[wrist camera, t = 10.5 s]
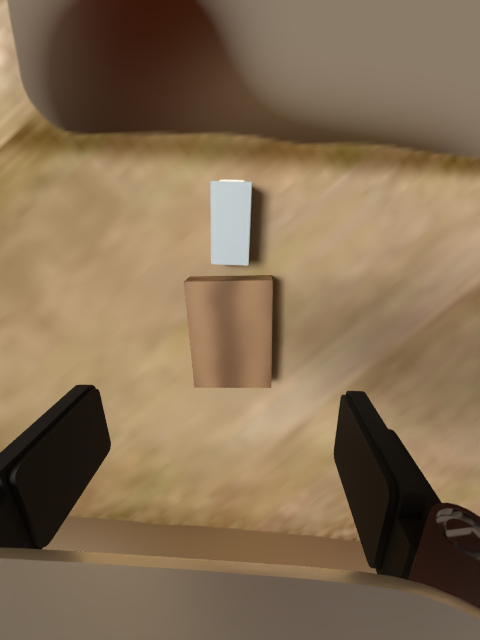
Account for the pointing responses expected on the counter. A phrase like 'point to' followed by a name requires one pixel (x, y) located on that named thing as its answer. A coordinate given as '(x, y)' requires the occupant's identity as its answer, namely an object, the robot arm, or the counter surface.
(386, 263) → the counter surface
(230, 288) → the brown box
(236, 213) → the block
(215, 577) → the robot arm
